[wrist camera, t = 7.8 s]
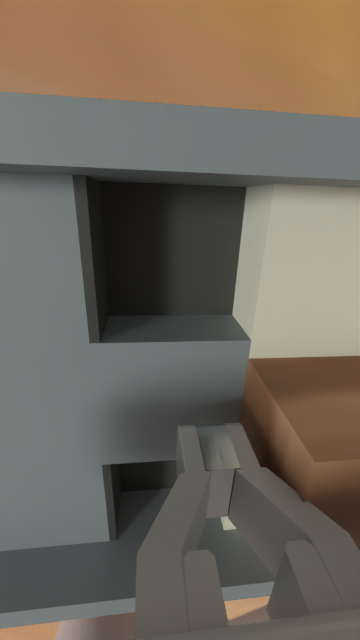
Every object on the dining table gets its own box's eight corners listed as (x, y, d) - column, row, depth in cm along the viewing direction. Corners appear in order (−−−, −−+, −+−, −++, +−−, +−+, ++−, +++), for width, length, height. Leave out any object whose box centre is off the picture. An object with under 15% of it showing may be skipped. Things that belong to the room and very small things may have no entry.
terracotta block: (248, 358, 9) (314, 462, 6) (361, 355, 10) (490, 450, 6) (235, 449, 11) (280, 577, 7) (332, 443, 11) (422, 560, 8)
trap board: (-132, 132, 8) (-431, 59, 4) (388, 161, 10) (566, 132, 6) (-6, 509, 14) (-69, 637, 10) (298, 485, 16) (351, 585, 12)
